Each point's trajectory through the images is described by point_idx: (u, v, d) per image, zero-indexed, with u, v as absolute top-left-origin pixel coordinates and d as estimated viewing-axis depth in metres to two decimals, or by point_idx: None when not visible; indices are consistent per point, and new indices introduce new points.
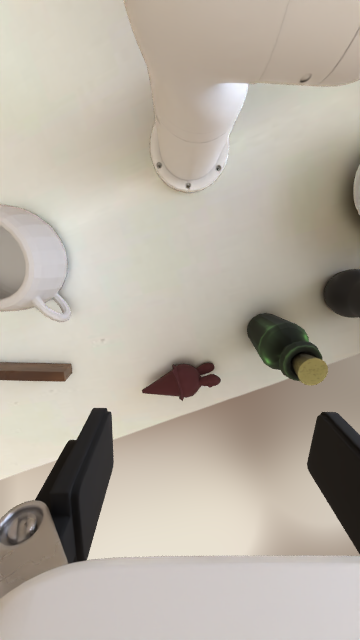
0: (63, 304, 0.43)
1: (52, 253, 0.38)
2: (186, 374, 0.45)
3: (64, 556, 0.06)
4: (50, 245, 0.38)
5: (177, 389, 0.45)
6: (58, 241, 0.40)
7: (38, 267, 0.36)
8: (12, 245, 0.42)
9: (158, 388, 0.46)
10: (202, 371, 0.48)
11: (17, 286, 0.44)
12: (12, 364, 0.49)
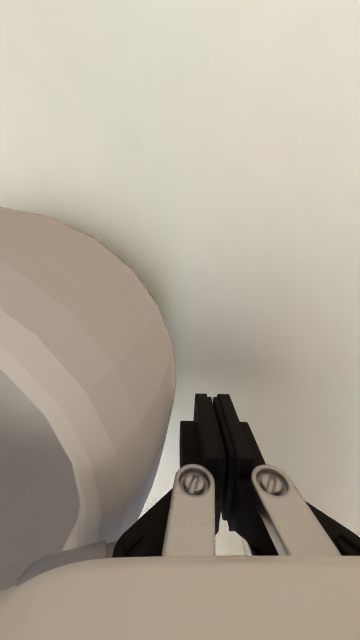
0: None
1: None
2: None
3: (214, 533, 0.06)
4: None
5: None
6: None
7: None
8: None
9: None
10: None
11: None
12: None
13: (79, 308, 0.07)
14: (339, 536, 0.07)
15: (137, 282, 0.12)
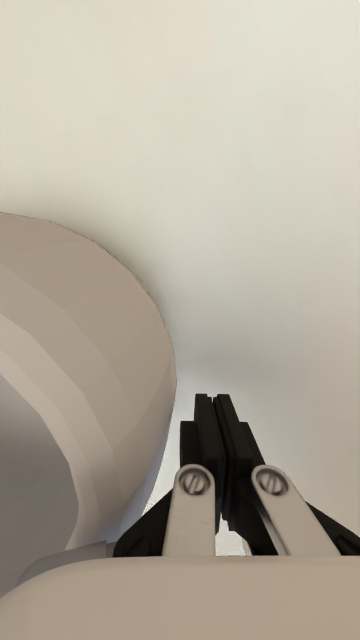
0: None
1: None
2: None
3: (214, 533, 0.06)
4: None
5: None
6: None
7: None
8: None
9: None
10: None
11: None
12: None
13: (74, 307, 0.07)
14: (339, 536, 0.07)
15: (135, 283, 0.12)
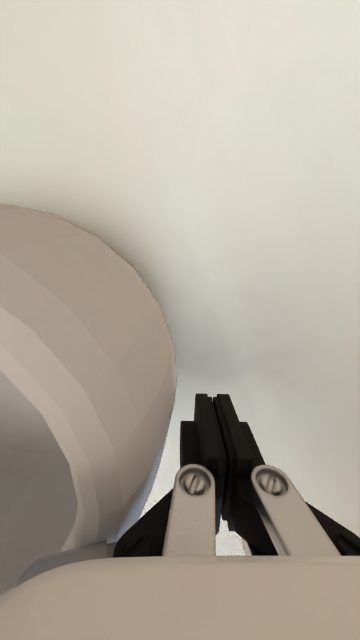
0: None
1: None
2: None
3: (214, 533, 0.06)
4: None
5: None
6: None
7: None
8: None
9: None
10: None
11: None
12: None
13: (78, 304, 0.07)
14: (339, 536, 0.07)
15: (138, 280, 0.11)
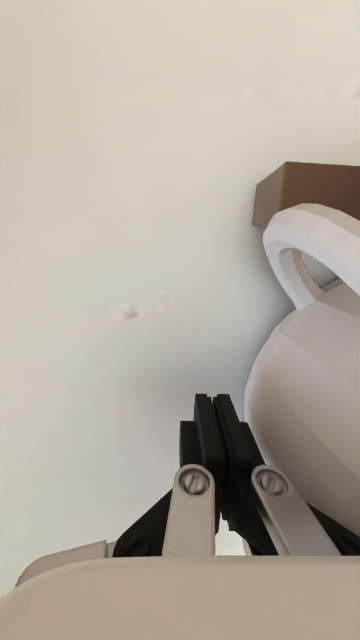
0: (287, 271, 0.11)
1: None
2: None
3: (214, 533, 0.06)
4: None
5: None
6: None
7: None
8: None
9: None
10: None
11: None
12: None
13: None
14: (339, 536, 0.07)
15: None
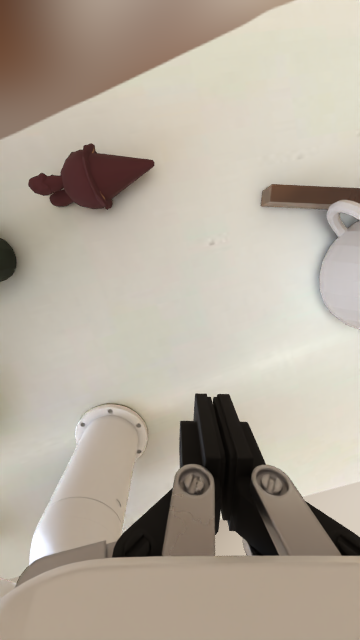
0: (335, 222, 0.33)
1: (341, 291, 0.32)
2: (83, 198, 0.29)
3: (214, 533, 0.06)
4: (341, 300, 0.33)
5: (93, 172, 0.28)
6: (328, 301, 0.35)
7: None
8: None
9: (126, 171, 0.29)
10: (64, 195, 0.32)
11: None
12: None
13: None
14: (339, 536, 0.07)
15: None
